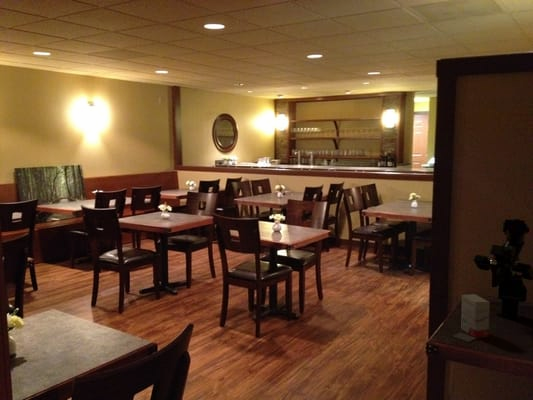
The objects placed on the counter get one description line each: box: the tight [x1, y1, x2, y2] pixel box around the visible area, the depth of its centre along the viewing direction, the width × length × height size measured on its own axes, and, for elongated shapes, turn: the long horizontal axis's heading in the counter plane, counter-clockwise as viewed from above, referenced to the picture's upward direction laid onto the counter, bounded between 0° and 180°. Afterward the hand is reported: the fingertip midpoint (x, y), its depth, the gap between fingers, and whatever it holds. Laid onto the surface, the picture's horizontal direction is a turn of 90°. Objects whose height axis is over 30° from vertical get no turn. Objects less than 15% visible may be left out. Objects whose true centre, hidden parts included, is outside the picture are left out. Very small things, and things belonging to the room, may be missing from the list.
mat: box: [452, 332, 477, 343], centre depth 146 cm, size 4×6×1 cm
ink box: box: [460, 293, 490, 339], centre depth 150 cm, size 9×5×12 cm, turn 8°
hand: (493, 286), depth 155 cm, fingers closed
